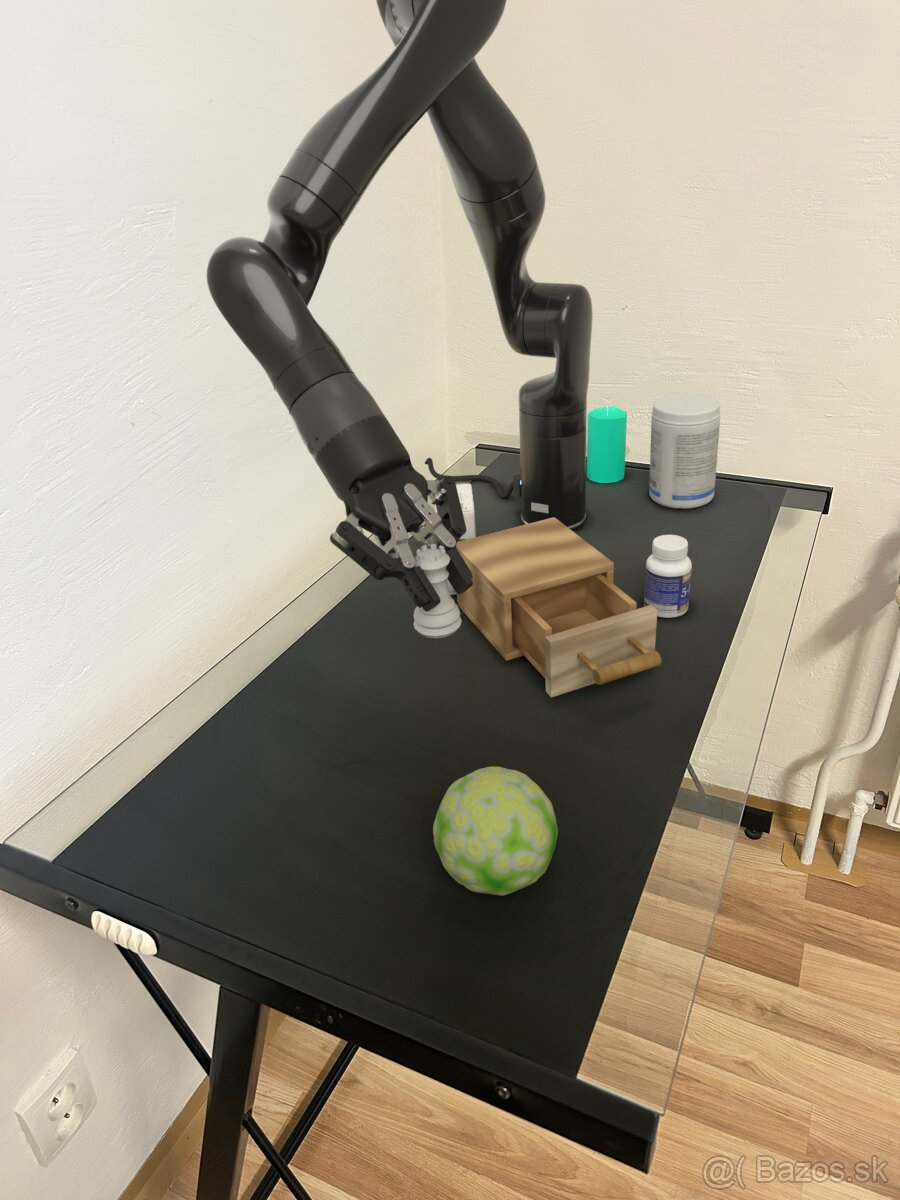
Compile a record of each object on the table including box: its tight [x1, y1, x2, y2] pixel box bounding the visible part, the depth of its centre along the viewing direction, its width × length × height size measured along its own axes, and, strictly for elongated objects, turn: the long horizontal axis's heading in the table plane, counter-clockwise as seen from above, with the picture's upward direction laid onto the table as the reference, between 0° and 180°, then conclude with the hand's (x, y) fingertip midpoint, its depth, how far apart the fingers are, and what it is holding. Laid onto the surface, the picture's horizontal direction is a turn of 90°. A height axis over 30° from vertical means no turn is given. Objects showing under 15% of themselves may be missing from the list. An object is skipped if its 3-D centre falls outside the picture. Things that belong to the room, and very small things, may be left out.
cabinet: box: [456, 517, 615, 662], centre depth 104 cm, size 14×14×9 cm
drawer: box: [511, 574, 662, 698], centre depth 94 cm, size 18×13×7 cm
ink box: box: [434, 483, 477, 596], centre depth 113 cm, size 9×5×12 cm, turn 2°
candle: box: [586, 402, 628, 484], centre depth 138 cm, size 6×6×12 cm
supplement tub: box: [648, 393, 721, 510], centre depth 129 cm, size 10×10×15 cm
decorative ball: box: [432, 766, 559, 897], centre depth 70 cm, size 10×10×10 cm
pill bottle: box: [643, 534, 693, 619], centre depth 104 cm, size 5×5×9 cm
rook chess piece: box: [412, 544, 463, 639], centre depth 79 cm, size 4×4×8 cm
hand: (449, 597), depth 78 cm, fingers closed on rook chess piece, 3 cm apart
